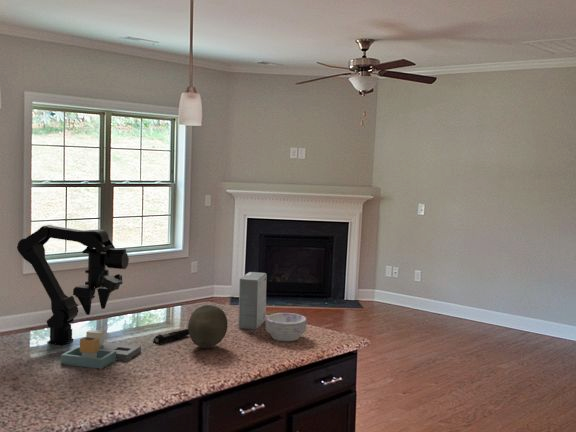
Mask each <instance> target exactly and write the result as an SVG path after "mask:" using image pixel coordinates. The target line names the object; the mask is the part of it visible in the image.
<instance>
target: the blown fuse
mask: <svg viewBox="0 0 576 432" xmlns="http://www.w3.org/2000/svg"><path fill="white" fill-rule="evenodd" d="M79 347H80V352H82V356H86V357H94V358H97V352H98V351H99V338H90V337H86V336H84V337H82V338H80V339H79Z"/></svg>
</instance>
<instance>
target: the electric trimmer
mask: <svg viewBox="0 0 576 432" xmlns="http://www.w3.org/2000/svg"><path fill="white" fill-rule="evenodd" d="M187 336H190V335H189V331H188V328H185V329H180V330H175V331H172V332H168V333H165V334H158V335H155V337H154V338H153V339H152V344H154V343H155V345H157V344H158V345H162V344H163V343H166V342H170V341H173V340H174V339H175V340H176V341H177V340H179V339H180V340H181V339H182V338H185V337H187Z"/></svg>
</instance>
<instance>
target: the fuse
mask: <svg viewBox="0 0 576 432" xmlns="http://www.w3.org/2000/svg"><path fill="white" fill-rule="evenodd" d="M105 332H106V331H105V330H101V329H99V330H98V329H89V330H87V331H86V336H85V337H90V338H99V348H100V347H102V344H103V343H105V342H106V340H105V336H106V333H105Z"/></svg>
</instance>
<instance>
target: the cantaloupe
mask: <svg viewBox="0 0 576 432" xmlns="http://www.w3.org/2000/svg"><path fill="white" fill-rule="evenodd" d="M187 329H188V331H189V335H188V336H189V338H190V339H191V342H192V343H193V344H195V346H197V347H199V348H201V349H211V348H213V347H215V346H216V345H218V344H220V343H221V342H222V340H224V337H226V334H227V331H228V319H227V315H226V313H225V311H224V310H223V309H221V308H220V307H218V306H216V305H212V304H205V305H202V306H200V307H197V308H196V309H195V310H194V311H193V312H192V313H191V315H190V317H189V320H188V325H187Z"/></svg>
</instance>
